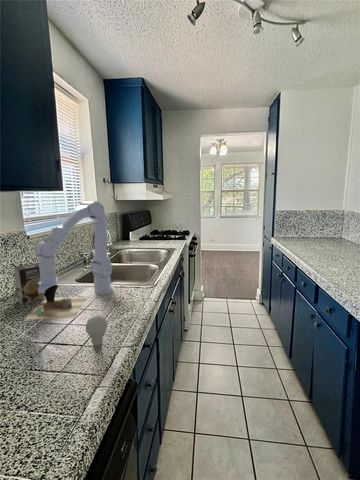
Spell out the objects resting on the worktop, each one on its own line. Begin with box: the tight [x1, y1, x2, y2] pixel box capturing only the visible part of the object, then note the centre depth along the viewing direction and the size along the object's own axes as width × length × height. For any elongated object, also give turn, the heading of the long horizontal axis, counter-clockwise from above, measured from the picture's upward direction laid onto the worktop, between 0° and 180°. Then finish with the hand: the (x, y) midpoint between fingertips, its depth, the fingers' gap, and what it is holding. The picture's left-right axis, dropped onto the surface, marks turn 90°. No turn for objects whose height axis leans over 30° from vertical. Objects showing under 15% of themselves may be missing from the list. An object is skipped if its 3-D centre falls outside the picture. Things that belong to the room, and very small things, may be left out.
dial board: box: [24, 296, 89, 321], centre depth 104 cm, size 20×18×1 cm
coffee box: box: [13, 263, 46, 306], centre depth 110 cm, size 9×6×16 cm
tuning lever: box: [38, 298, 72, 311], centre depth 102 cm, size 12×4×3 cm, turn 118°
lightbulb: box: [85, 315, 108, 352], centre depth 76 cm, size 6×6×11 cm
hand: (50, 303), depth 102 cm, fingers closed, pressing on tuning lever
